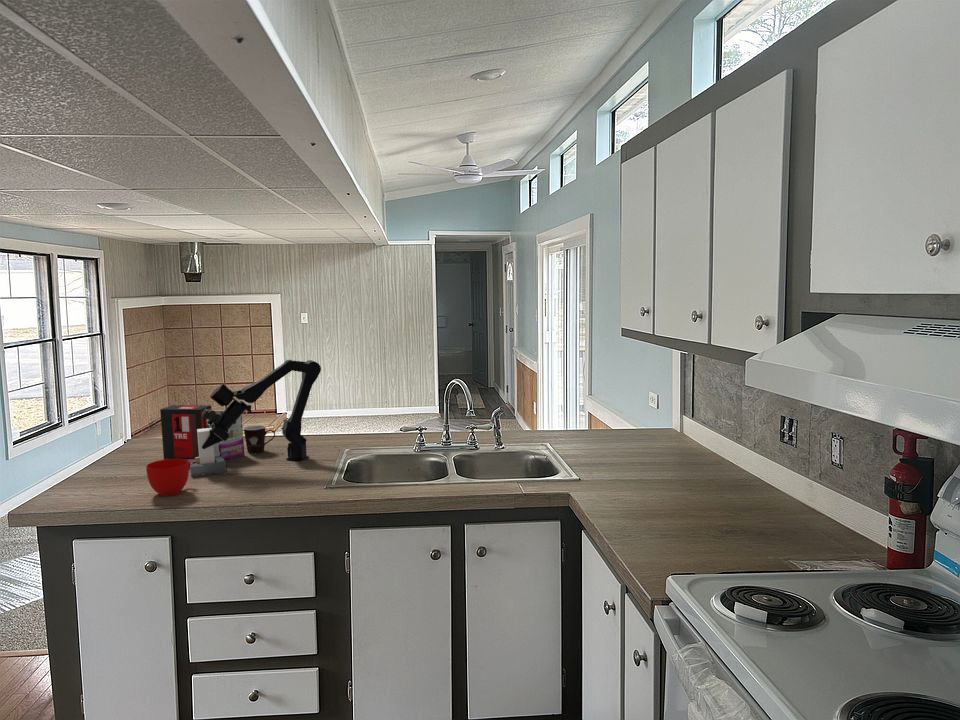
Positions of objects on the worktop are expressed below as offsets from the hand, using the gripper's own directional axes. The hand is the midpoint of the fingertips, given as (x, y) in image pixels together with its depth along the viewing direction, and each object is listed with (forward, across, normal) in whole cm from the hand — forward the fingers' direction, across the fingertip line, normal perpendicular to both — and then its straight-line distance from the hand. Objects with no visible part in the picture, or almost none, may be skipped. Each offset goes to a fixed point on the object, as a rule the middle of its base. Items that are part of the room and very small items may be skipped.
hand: (202, 446), depth 258 cm
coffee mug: (-10, -19, +23) cm, 31 cm away
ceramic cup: (+14, +22, -1) cm, 26 cm away
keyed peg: (+4, 0, +6) cm, 7 cm away
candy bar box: (-1, -16, +14) cm, 21 cm away
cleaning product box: (+9, -26, +4) cm, 28 cm away
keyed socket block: (+6, 0, +7) cm, 9 cm away
